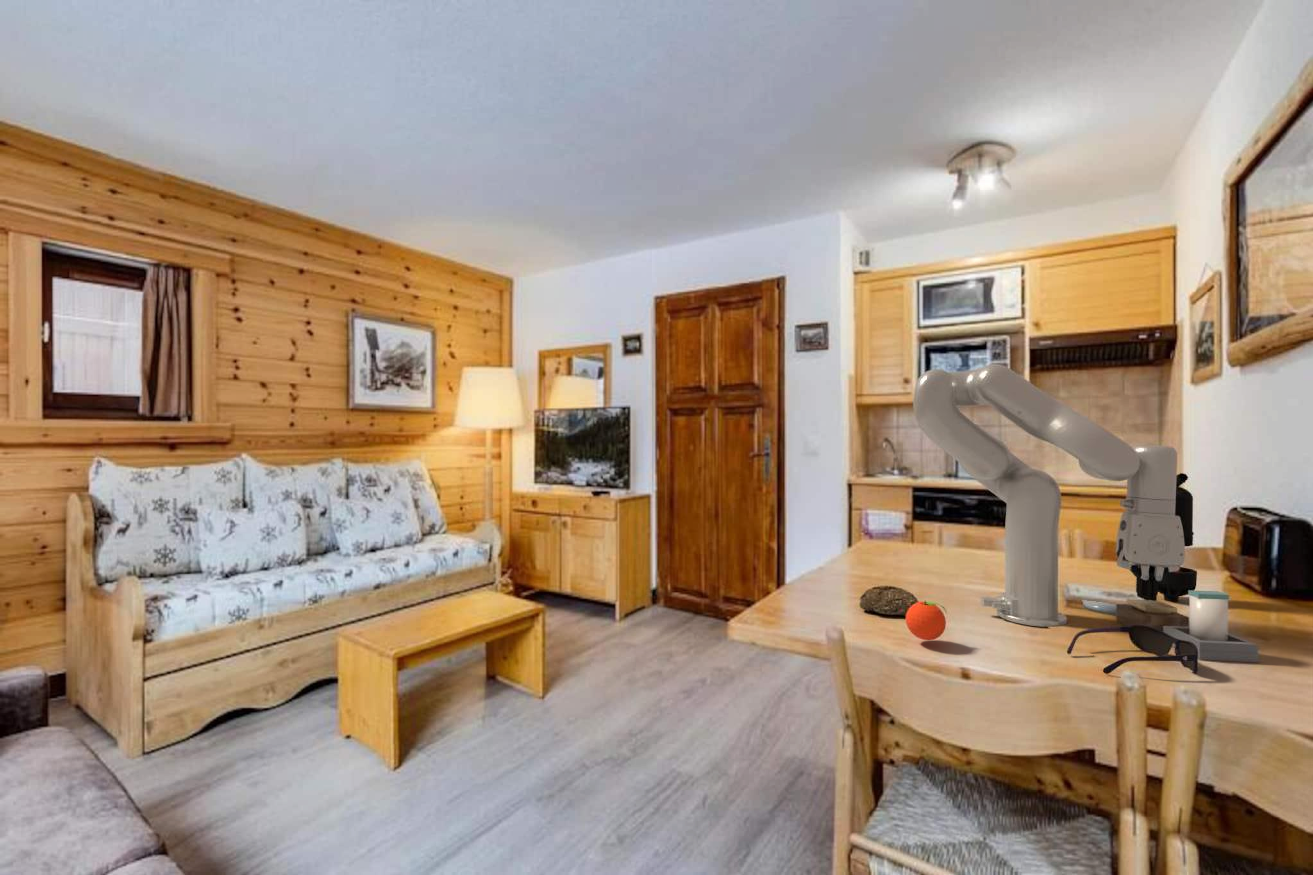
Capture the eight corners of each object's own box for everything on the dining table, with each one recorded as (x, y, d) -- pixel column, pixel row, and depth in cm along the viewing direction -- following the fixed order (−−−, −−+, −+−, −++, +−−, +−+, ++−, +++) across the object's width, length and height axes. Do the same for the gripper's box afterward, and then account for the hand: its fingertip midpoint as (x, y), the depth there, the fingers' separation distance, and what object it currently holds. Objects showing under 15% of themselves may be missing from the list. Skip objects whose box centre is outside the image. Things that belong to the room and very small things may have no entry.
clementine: (935, 631, 116) (935, 595, 116) (959, 644, 109) (959, 605, 109) (898, 634, 115) (898, 597, 115) (919, 646, 108) (920, 607, 108)
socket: (1199, 659, 101) (1199, 642, 101) (1162, 641, 110) (1162, 625, 110) (1258, 662, 100) (1259, 644, 100) (1216, 643, 109) (1216, 627, 109)
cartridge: (1203, 647, 103) (1203, 595, 103) (1182, 637, 108) (1182, 588, 108) (1235, 648, 103) (1236, 596, 102) (1212, 639, 107) (1212, 589, 107)
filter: (1210, 609, 131) (1210, 473, 131) (1161, 606, 133) (1161, 473, 133) (1173, 593, 144) (1173, 470, 144) (1129, 591, 146) (1129, 469, 146)
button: (1145, 623, 116) (1145, 606, 116) (1126, 615, 121) (1126, 599, 121) (1177, 625, 115) (1177, 608, 115) (1156, 616, 121) (1156, 600, 121)
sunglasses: (1214, 679, 94) (1214, 648, 94) (1118, 681, 93) (1118, 649, 93) (1141, 649, 108) (1141, 621, 108) (1056, 650, 107) (1056, 622, 107)
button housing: (1142, 633, 115) (1142, 615, 115) (1116, 620, 123) (1116, 603, 123) (1188, 635, 114) (1188, 617, 114) (1159, 622, 122) (1159, 605, 122)
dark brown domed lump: (911, 601, 138) (911, 580, 138) (926, 617, 126) (926, 594, 126) (854, 599, 140) (854, 578, 140) (863, 614, 128) (863, 591, 128)
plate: (1099, 614, 127) (1099, 609, 127) (1073, 601, 137) (1073, 596, 137) (1150, 616, 126) (1150, 611, 126) (1120, 603, 136) (1120, 598, 136)
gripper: (1121, 507, 116) (1117, 601, 116) (1206, 511, 114) (1202, 606, 114) (1098, 503, 123) (1094, 591, 123) (1177, 506, 121) (1174, 596, 121)
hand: (1146, 598), depth 119 cm, fingers closed
